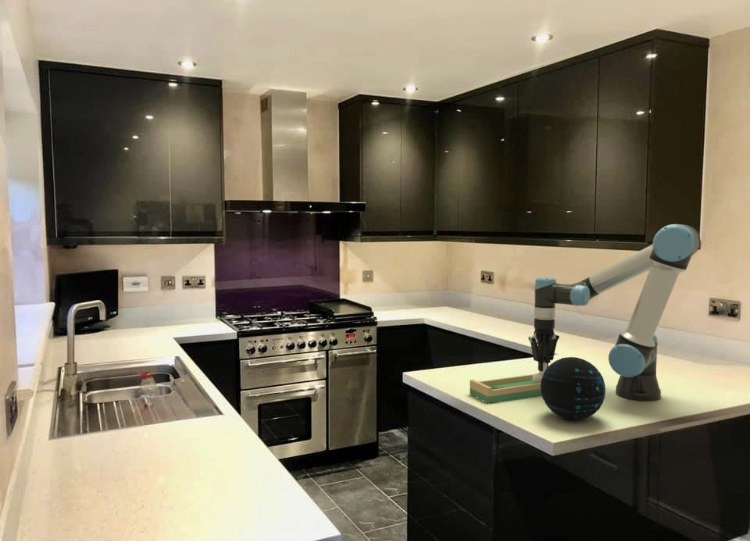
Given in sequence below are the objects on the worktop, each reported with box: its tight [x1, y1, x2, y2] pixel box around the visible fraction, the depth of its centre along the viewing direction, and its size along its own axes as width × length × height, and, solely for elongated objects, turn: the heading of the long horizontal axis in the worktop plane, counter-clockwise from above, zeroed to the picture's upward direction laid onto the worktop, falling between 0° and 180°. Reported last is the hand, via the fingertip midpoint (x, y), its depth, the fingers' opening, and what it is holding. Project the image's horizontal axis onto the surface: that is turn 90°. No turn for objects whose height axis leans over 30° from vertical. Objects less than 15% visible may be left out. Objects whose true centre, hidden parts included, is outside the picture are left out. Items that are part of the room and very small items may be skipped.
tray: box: [469, 373, 542, 404], centre depth 212 cm, size 12×32×6 cm, turn 113°
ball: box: [532, 372, 542, 383], centre depth 216 cm, size 4×4×4 cm
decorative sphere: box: [540, 356, 607, 421], centre depth 184 cm, size 20×20×20 cm
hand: (542, 378), depth 217 cm, fingers closed
